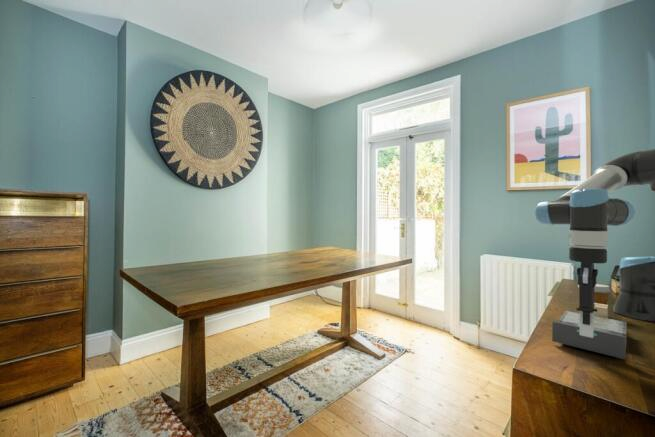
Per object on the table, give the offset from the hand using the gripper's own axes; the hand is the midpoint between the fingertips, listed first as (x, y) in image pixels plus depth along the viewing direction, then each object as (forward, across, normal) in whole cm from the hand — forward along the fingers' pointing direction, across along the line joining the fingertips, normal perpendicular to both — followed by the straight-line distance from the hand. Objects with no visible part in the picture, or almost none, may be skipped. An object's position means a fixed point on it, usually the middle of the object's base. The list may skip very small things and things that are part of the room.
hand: (586, 335), depth 77 cm
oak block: (+5, -35, 0) cm, 36 cm away
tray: (+4, -9, 0) cm, 10 cm away
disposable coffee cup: (+6, -49, -1) cm, 49 cm away
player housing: (+5, -21, 0) cm, 22 cm away
